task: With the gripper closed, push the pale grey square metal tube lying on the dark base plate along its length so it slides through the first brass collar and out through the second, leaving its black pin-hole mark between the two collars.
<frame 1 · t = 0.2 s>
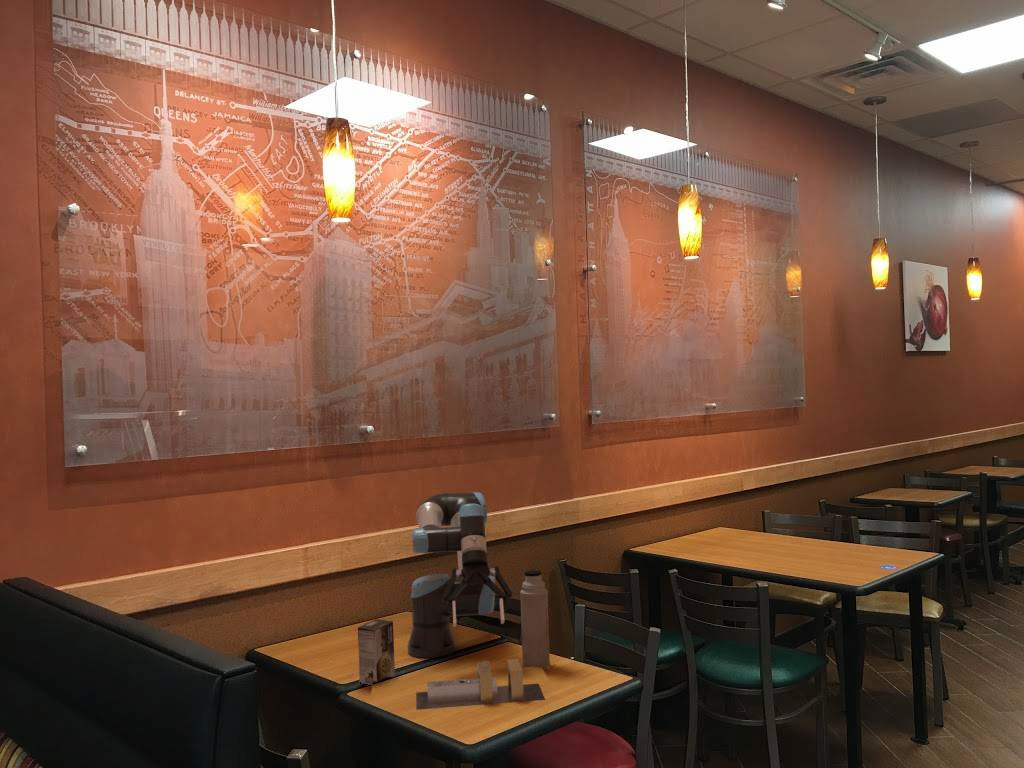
hand: (478, 623, 236), 16 cm above the table, tool tilted 35°, fingers open, 13 cm apart
collar stand: (485, 701, 219), on the table
coffee box: (377, 681, 237), on the table
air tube: (462, 697, 218), point 1 cm above the table, touching collar stand
thermos bottle: (536, 667, 245), on the table
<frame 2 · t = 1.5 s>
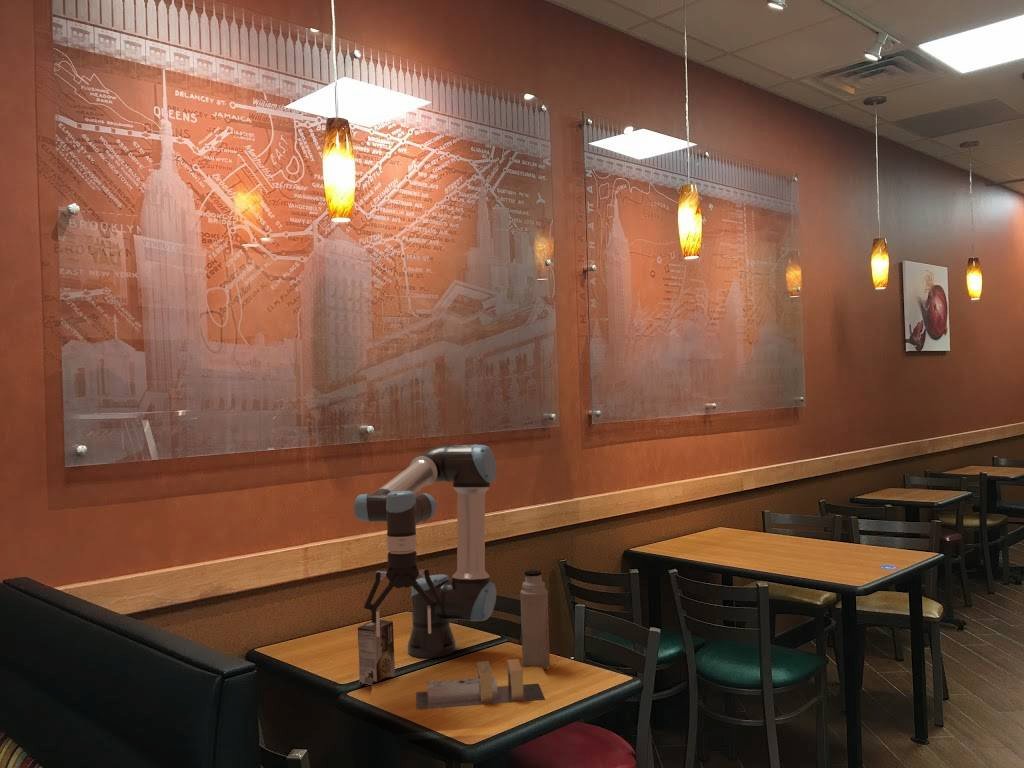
hand: (404, 633, 216), 19 cm above the table, tool pointing down, fingers open, 12 cm apart
nothing on the table moved.
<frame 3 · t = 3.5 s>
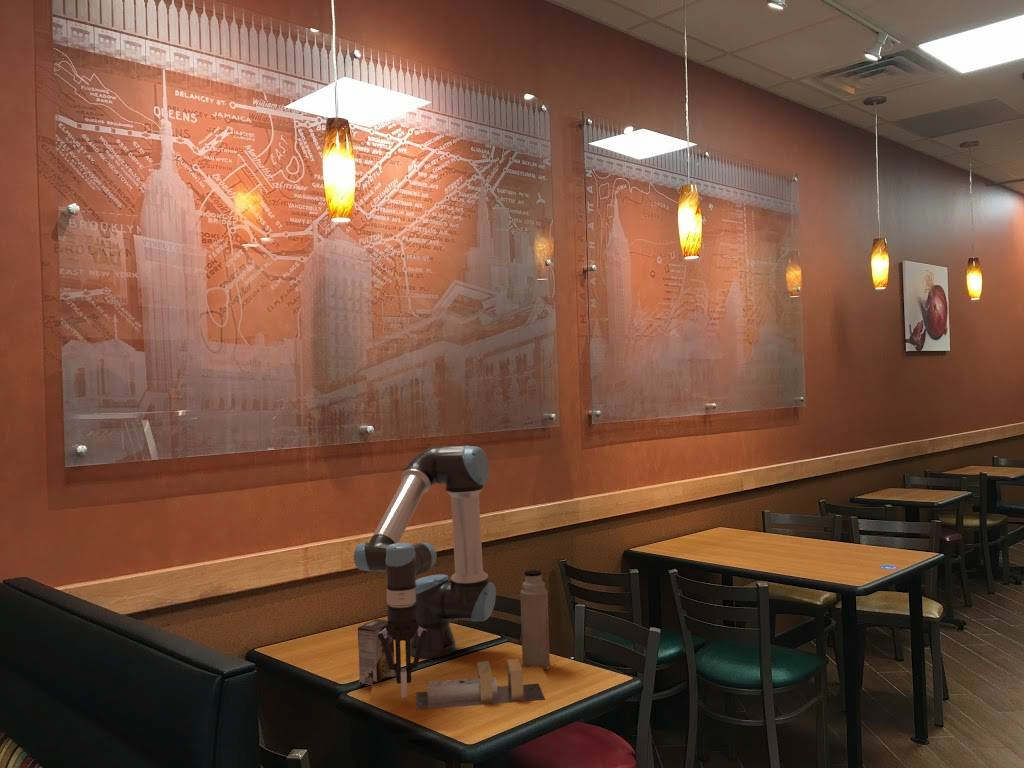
hand: (404, 695, 216), 3 cm above the table, tool pointing down, fingers closed
nothing on the table moved.
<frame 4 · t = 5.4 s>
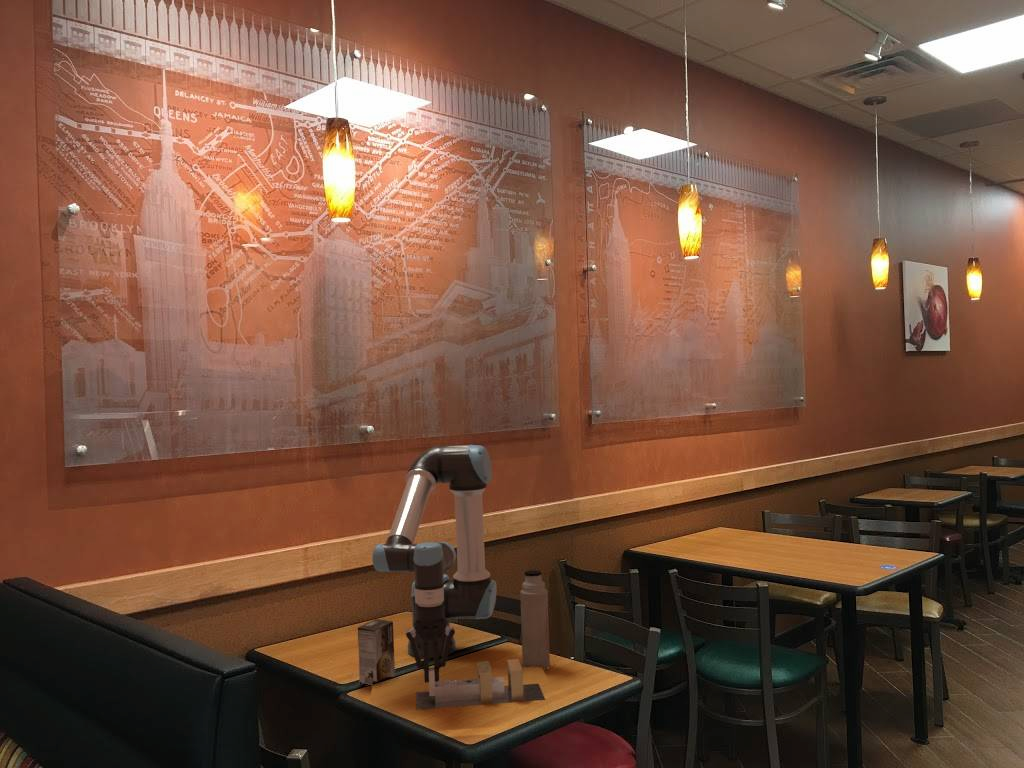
hand: (432, 694, 217), 3 cm above the table, tool pointing down, fingers closed
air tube: (469, 696, 218), point 2 cm above the table, touching gripper
everything else where it was.
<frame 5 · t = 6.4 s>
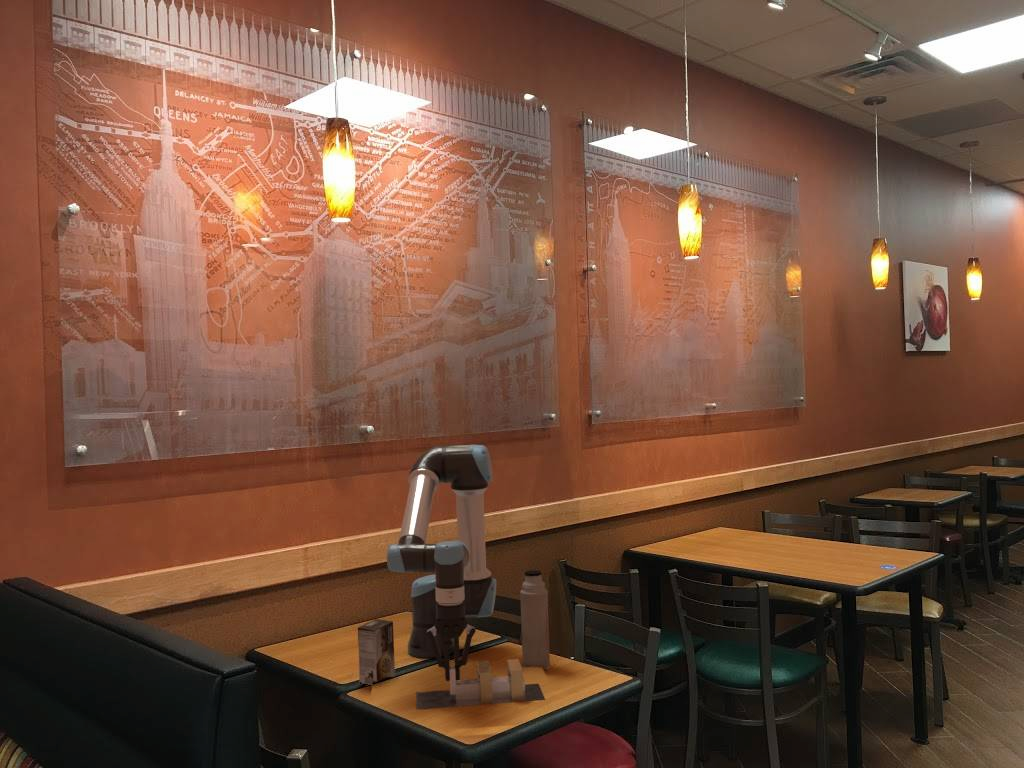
hand: (452, 692, 218), 3 cm above the table, tool pointing down, fingers closed
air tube: (490, 695, 219), point 2 cm above the table, touching collar stand
everything else where it was.
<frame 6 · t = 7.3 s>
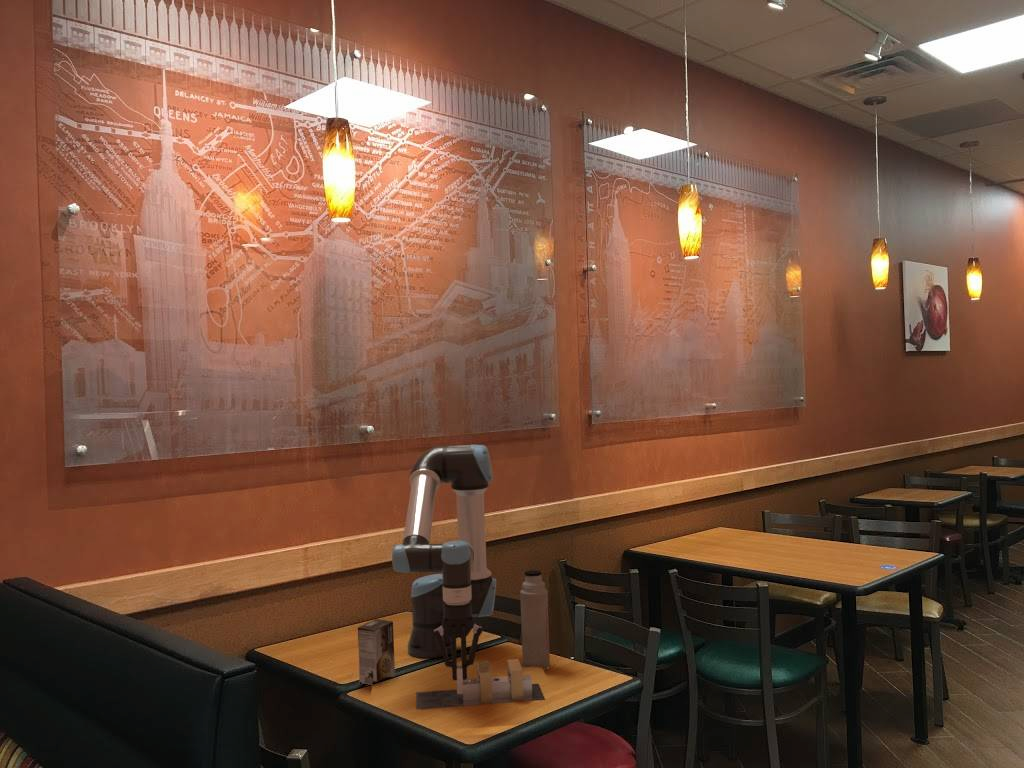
hand: (460, 692, 218), 3 cm above the table, tool pointing down, fingers closed
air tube: (497, 694, 219), point 1 cm above the table, touching collar stand, gripper
everything else where it was.
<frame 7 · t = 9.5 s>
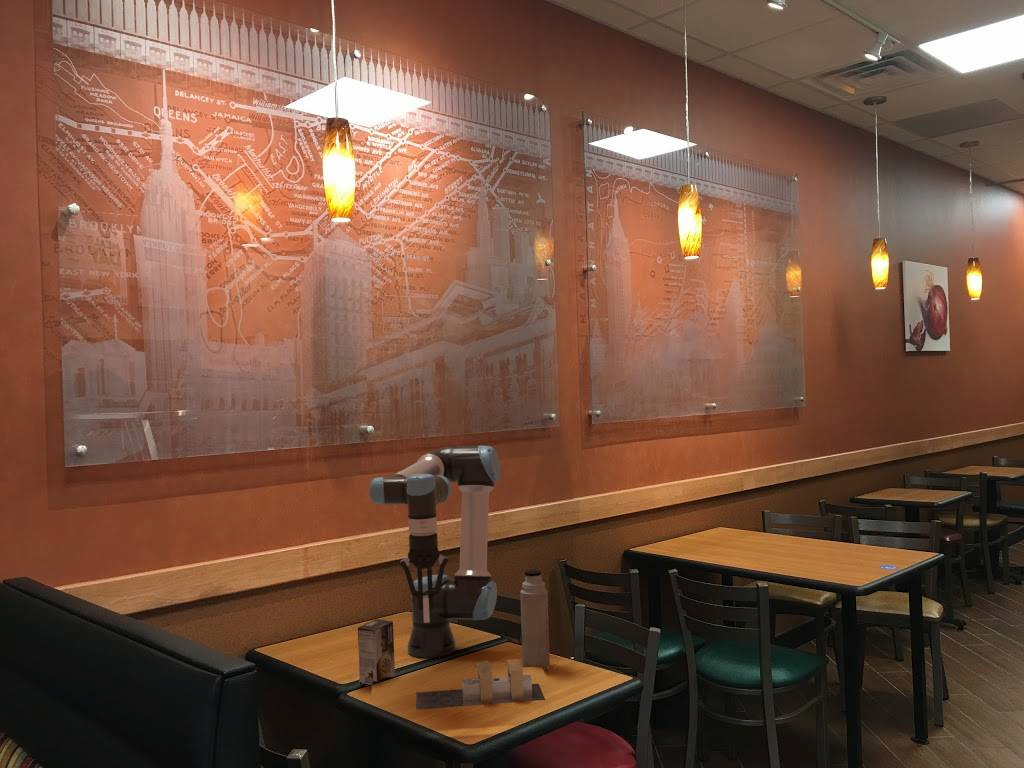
hand: (426, 621, 222), 21 cm above the table, tool pointing down, fingers closed
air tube: (497, 694, 219), point 1 cm above the table, touching collar stand
everything else where it was.
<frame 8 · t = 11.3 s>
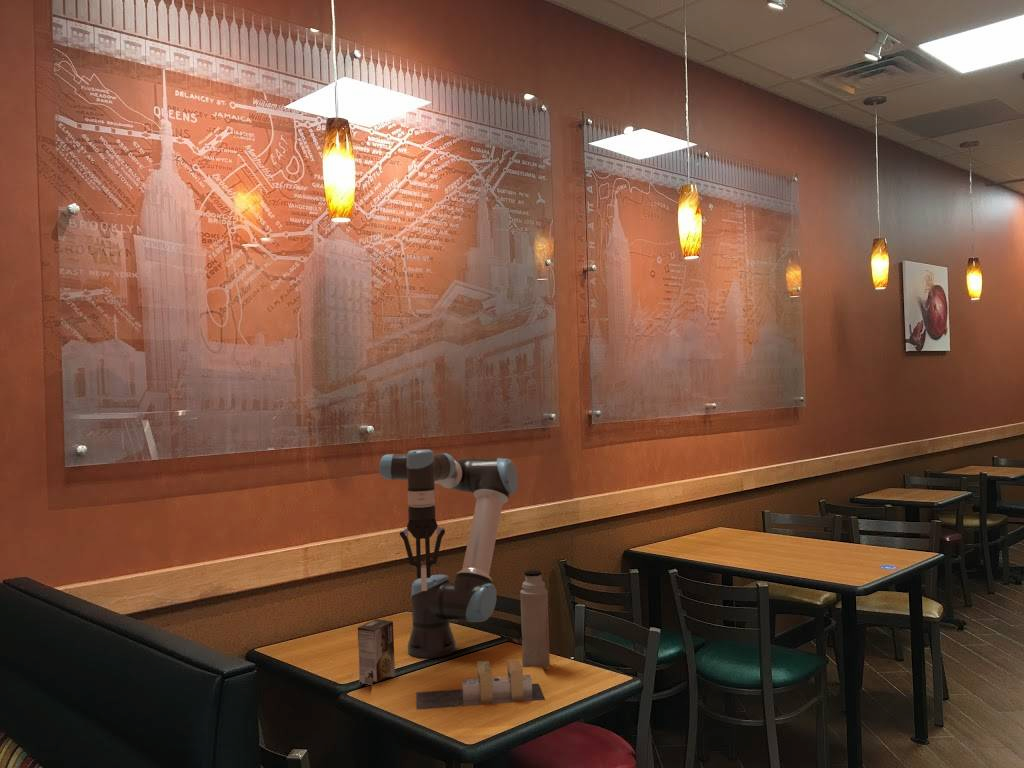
hand: (424, 589, 233), 26 cm above the table, tool pointing down, fingers closed
nothing on the table moved.
at the end: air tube 2.7 cm from the target spot on the collar stand, point 1.5 cm above the collar stand's base; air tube tilted 0°; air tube moved 9.1 cm from its start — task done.
